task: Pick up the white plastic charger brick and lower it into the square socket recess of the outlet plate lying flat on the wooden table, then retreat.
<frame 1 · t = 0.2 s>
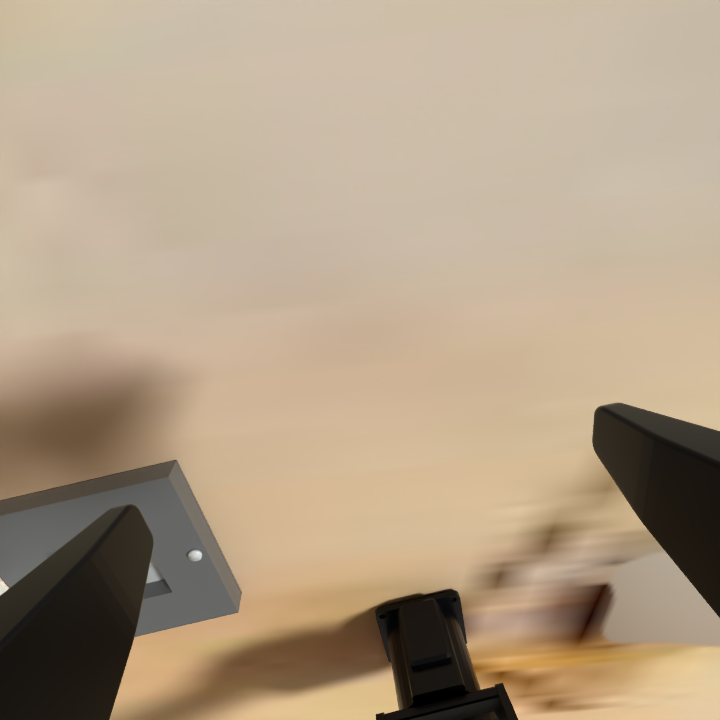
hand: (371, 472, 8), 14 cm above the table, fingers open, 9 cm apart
outlet plate: (121, 553, 27), on the table
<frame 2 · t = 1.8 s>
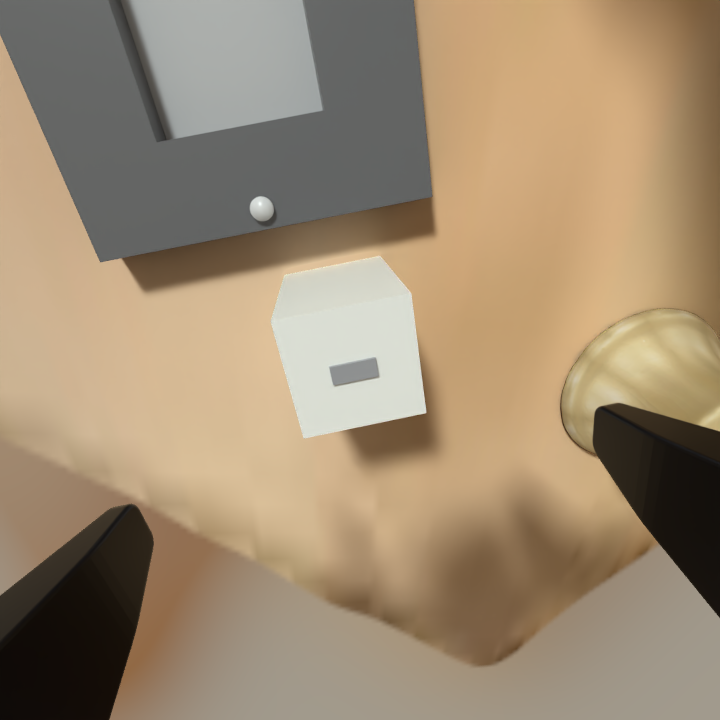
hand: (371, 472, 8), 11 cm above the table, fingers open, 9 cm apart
hand bell: (635, 384, 21), on the table
outlet plate: (223, 36, 14), on the table
charger: (341, 311, 18), on the table
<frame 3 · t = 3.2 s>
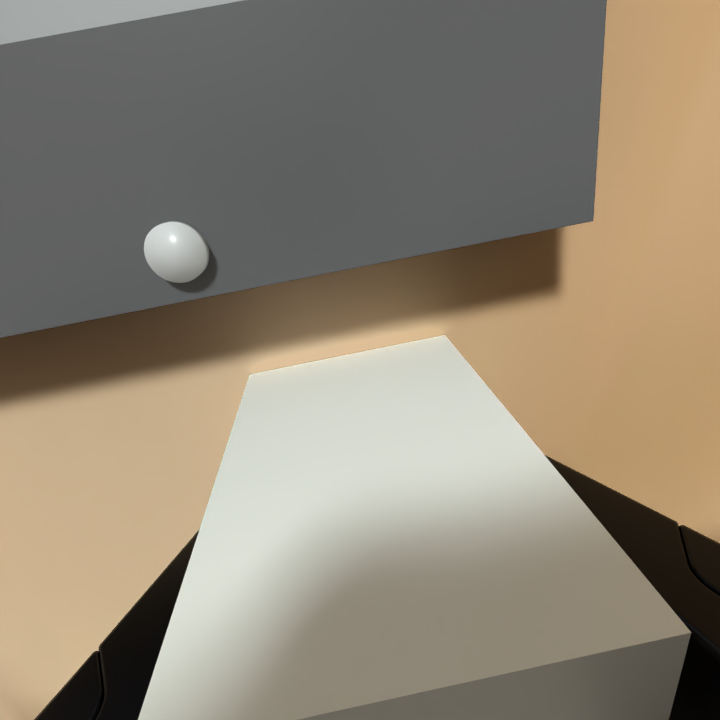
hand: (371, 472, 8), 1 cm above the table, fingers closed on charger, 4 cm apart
charger: (364, 435, 9), on the table, touching gripper
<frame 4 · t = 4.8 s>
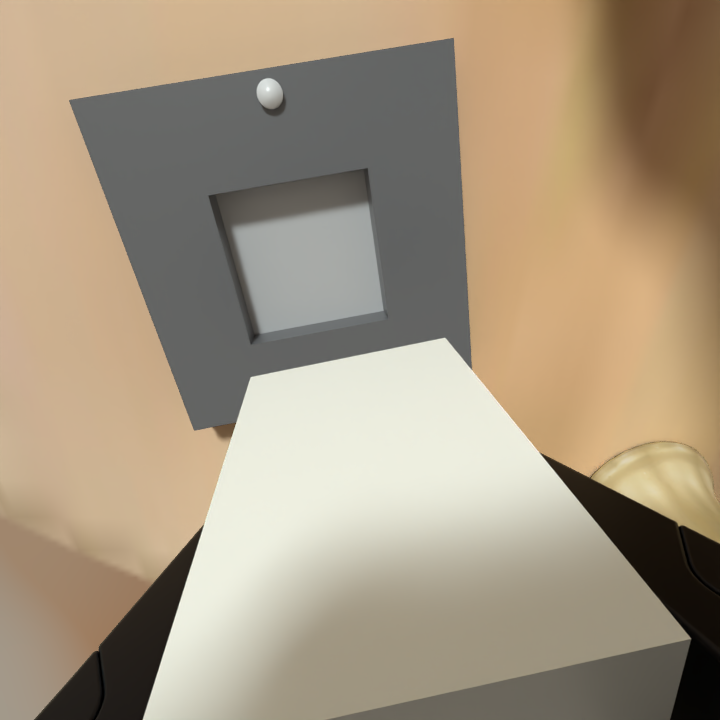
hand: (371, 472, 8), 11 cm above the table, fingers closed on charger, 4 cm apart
hand bell: (636, 498, 24), on the table
outlet plate: (305, 255, 17), on the table
charger: (365, 438, 9), point 9 cm above the table, touching gripper
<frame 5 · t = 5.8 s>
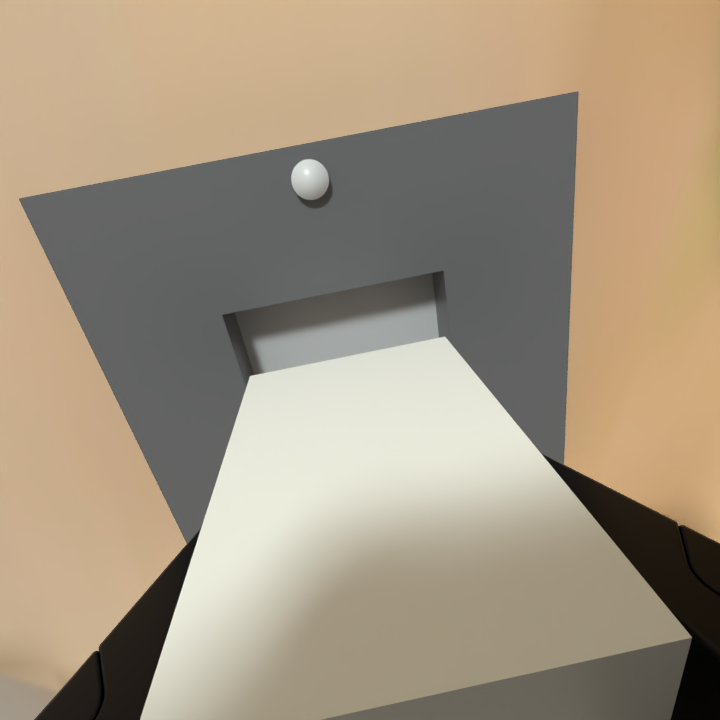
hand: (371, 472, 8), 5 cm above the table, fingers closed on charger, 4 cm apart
outlet plate: (349, 367, 13), on the table
charger: (364, 437, 9), point 4 cm above the table, touching gripper
when the fingers open (3 cm above the table, at t = 6.5 s): charger drops 1 cm, resting on outlet plate.
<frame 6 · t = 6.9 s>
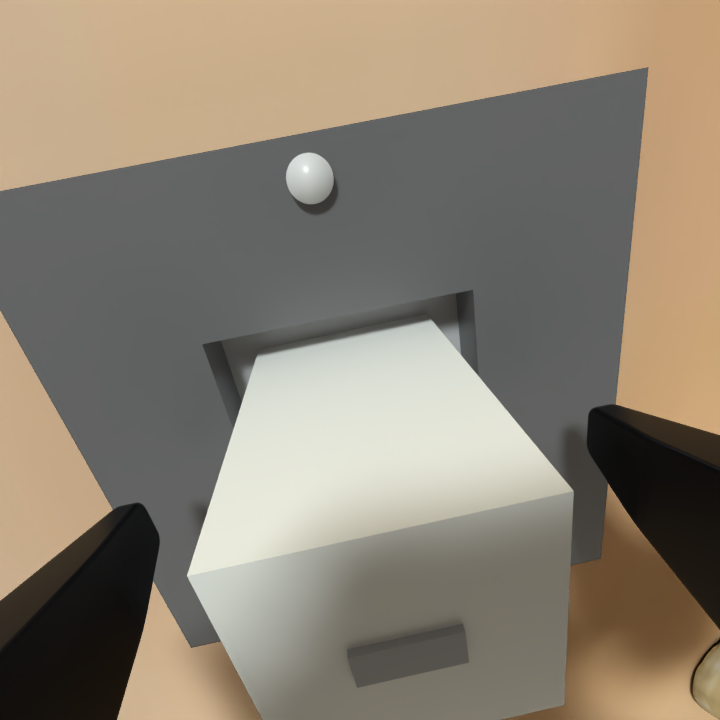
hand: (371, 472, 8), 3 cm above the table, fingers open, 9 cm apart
outlet plate: (356, 398, 11), on the table
charger: (358, 404, 10), resting on outlet plate
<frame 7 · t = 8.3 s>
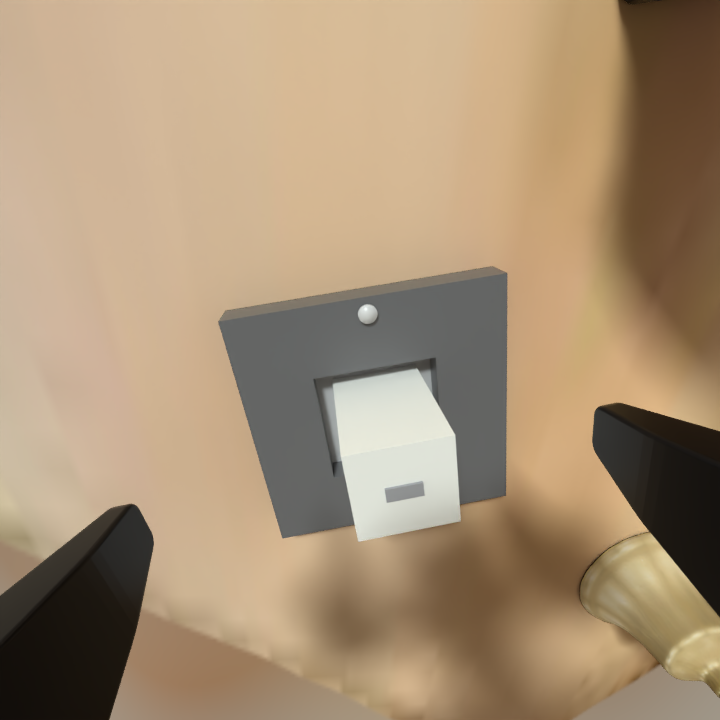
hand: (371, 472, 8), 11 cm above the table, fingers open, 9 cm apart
hand bell: (634, 573, 29), on the table
outlet plate: (377, 404, 21), on the table
charger: (379, 408, 20), resting on outlet plate
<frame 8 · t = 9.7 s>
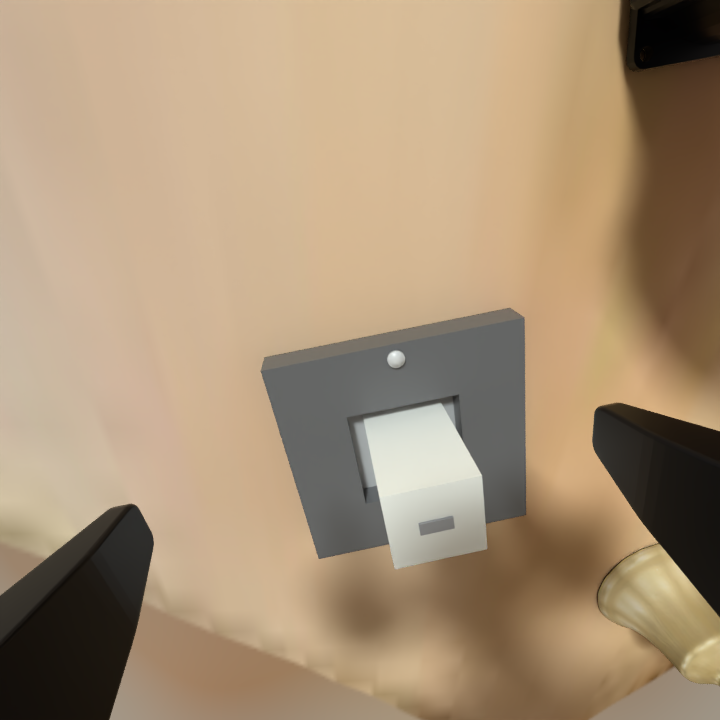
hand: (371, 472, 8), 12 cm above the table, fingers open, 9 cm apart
hand bell: (649, 580, 30), on the table
outlet plate: (404, 435, 22), on the table
charger: (406, 438, 22), resting on outlet plate
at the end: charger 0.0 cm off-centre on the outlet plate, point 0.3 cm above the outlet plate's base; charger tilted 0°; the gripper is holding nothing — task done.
